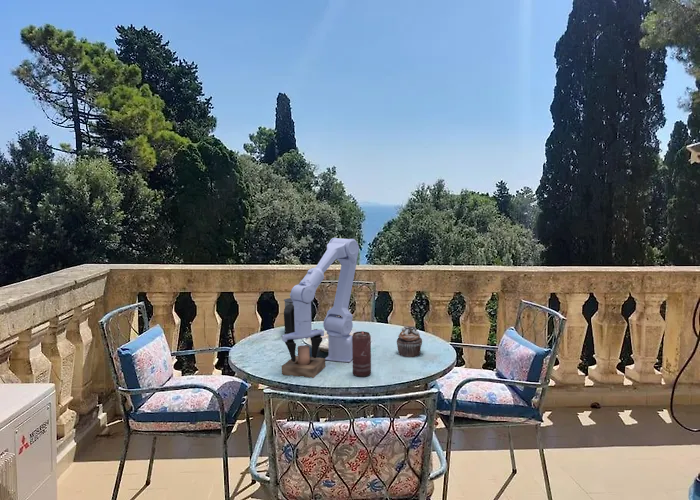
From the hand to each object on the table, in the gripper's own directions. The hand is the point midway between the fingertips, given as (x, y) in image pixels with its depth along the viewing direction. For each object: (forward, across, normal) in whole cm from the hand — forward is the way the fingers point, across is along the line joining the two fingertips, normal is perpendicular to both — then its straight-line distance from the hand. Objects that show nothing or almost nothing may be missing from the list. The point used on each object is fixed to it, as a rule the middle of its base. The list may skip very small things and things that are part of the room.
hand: (303, 359), depth 178 cm
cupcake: (+4, -42, +2) cm, 42 cm away
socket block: (+4, 0, 0) cm, 4 cm away
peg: (+4, 0, 0) cm, 4 cm away
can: (+4, -16, +13) cm, 20 cm away
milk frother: (+4, -17, -44) cm, 47 cm away
